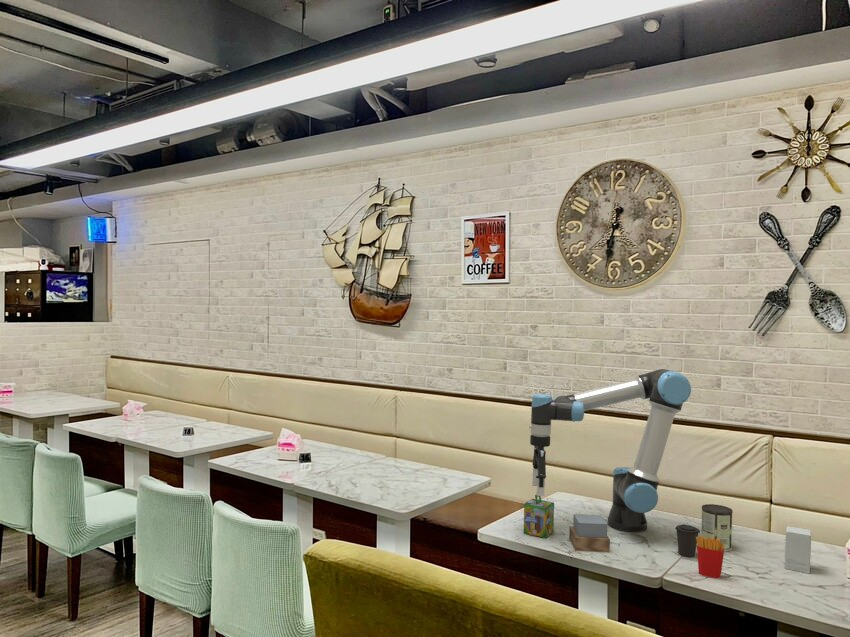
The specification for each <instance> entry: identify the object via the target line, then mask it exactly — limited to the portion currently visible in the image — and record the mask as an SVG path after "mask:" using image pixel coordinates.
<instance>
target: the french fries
mask: <svg viewBox="0 0 850 637" xmlns="http://www.w3.org/2000/svg"><path fill="white" fill-rule="evenodd" d="M696 540H697V547H696V555H697V568H698V574H699V575H700V576H704V577H706V578H713V579H720V578H721V576H722V571H723V570H722V569H723V562H724V554H725V552H724V549H723V547H724V542H722V543H720V540H719V539H716V541H715V539H712V538H709V537H707V539H704V538H703V537H702V536H701V535H700V536H698V537H696Z"/></svg>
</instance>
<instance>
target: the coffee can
mask: <svg viewBox="0 0 850 637" xmlns="http://www.w3.org/2000/svg"><path fill="white" fill-rule="evenodd" d="M732 530H733V509H732V508H731V507H728V506H724V505H720V504H713V503H711V504H710V503H709V504H708V503H707V504H706V503H705V504H702V505H701V532H700V533H701V534H700V537H701V536H702V537H703V538H704V539H707V537H709V538H712V539H715V541H716V539H719V540H720V543H722V542H724V547H723V549H724V553H726V552H730V551H731V550H732V548H733V547H732V540H733V539H732V533H733V531H732Z"/></svg>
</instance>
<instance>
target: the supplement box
mask: <svg viewBox="0 0 850 637" xmlns="http://www.w3.org/2000/svg"><path fill="white" fill-rule="evenodd" d="M784 542H785V545H784V569H785V570H789V571H790V570H791V571H794V572H799V573H805V574H810V572H811V552H812V530H811V529H806V528H801V527H793V526H789V525H787V526H786V529H785V540H784Z"/></svg>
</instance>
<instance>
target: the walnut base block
mask: <svg viewBox="0 0 850 637" xmlns="http://www.w3.org/2000/svg"><path fill="white" fill-rule="evenodd" d="M568 539H569V541H570V543H571V546H572V547H573V550H574V551H576V552H595V553H596V552H598V553H610V550H611V539H610V537H609V535H607V538H591V537H578V535H577V533H576V532H575V530H574V528H573V526H569V535H568Z"/></svg>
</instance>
